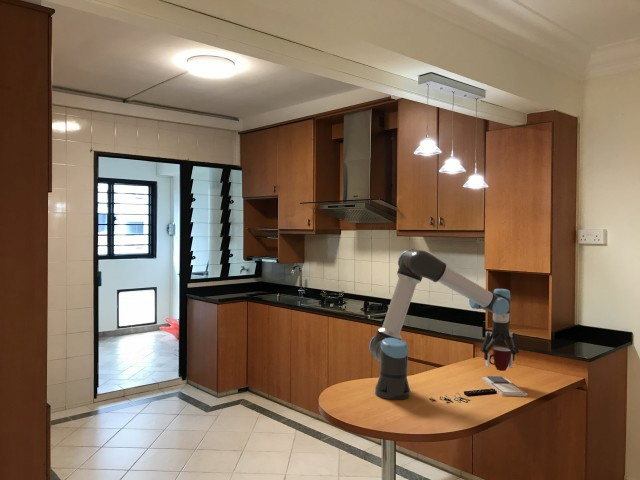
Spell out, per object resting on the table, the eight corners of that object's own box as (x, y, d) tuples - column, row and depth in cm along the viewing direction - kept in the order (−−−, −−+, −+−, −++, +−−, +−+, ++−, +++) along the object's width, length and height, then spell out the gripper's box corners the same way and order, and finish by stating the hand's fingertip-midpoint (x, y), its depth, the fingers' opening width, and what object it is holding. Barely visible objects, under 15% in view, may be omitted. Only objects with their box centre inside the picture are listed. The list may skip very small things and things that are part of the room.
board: (502, 395, 228) (502, 391, 228) (482, 379, 252) (482, 375, 252) (527, 396, 229) (527, 391, 229) (505, 380, 253) (505, 376, 252)
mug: (493, 372, 242) (494, 351, 242) (484, 368, 250) (485, 347, 249) (513, 371, 244) (514, 351, 244) (503, 367, 252) (504, 347, 252)
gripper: (480, 322, 242) (478, 368, 243) (527, 323, 243) (525, 369, 244) (474, 319, 250) (472, 364, 250) (520, 320, 251) (518, 365, 251)
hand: (498, 367), depth 247 cm, fingers closed on mug, 11 cm apart
